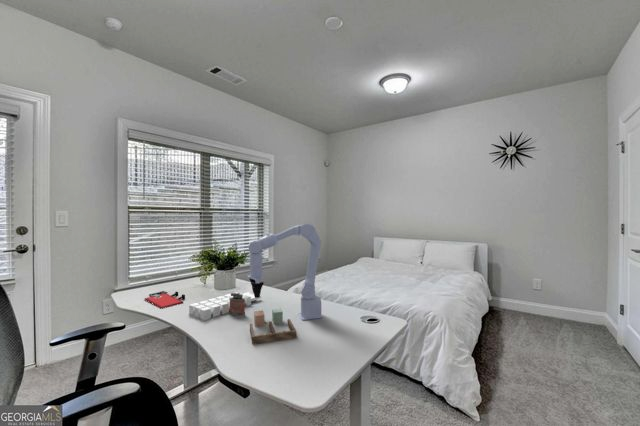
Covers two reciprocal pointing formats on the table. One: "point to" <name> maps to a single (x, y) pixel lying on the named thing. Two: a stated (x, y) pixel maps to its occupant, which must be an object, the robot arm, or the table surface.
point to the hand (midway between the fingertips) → (256, 295)
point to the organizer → (217, 306)
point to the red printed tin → (237, 304)
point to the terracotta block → (259, 318)
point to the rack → (273, 334)
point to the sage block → (277, 316)
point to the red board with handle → (165, 299)
